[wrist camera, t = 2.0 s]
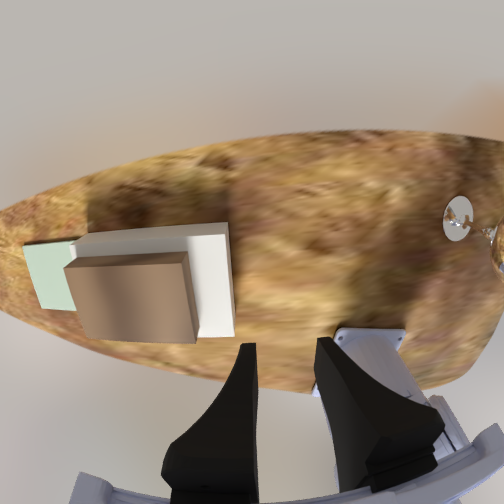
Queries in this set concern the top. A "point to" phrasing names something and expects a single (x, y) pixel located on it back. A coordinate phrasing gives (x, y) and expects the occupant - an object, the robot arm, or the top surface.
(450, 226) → the wineglass
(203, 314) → the tray
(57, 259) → the mat
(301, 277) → the top surface
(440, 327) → the top surface
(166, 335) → the tan cardboard slab
